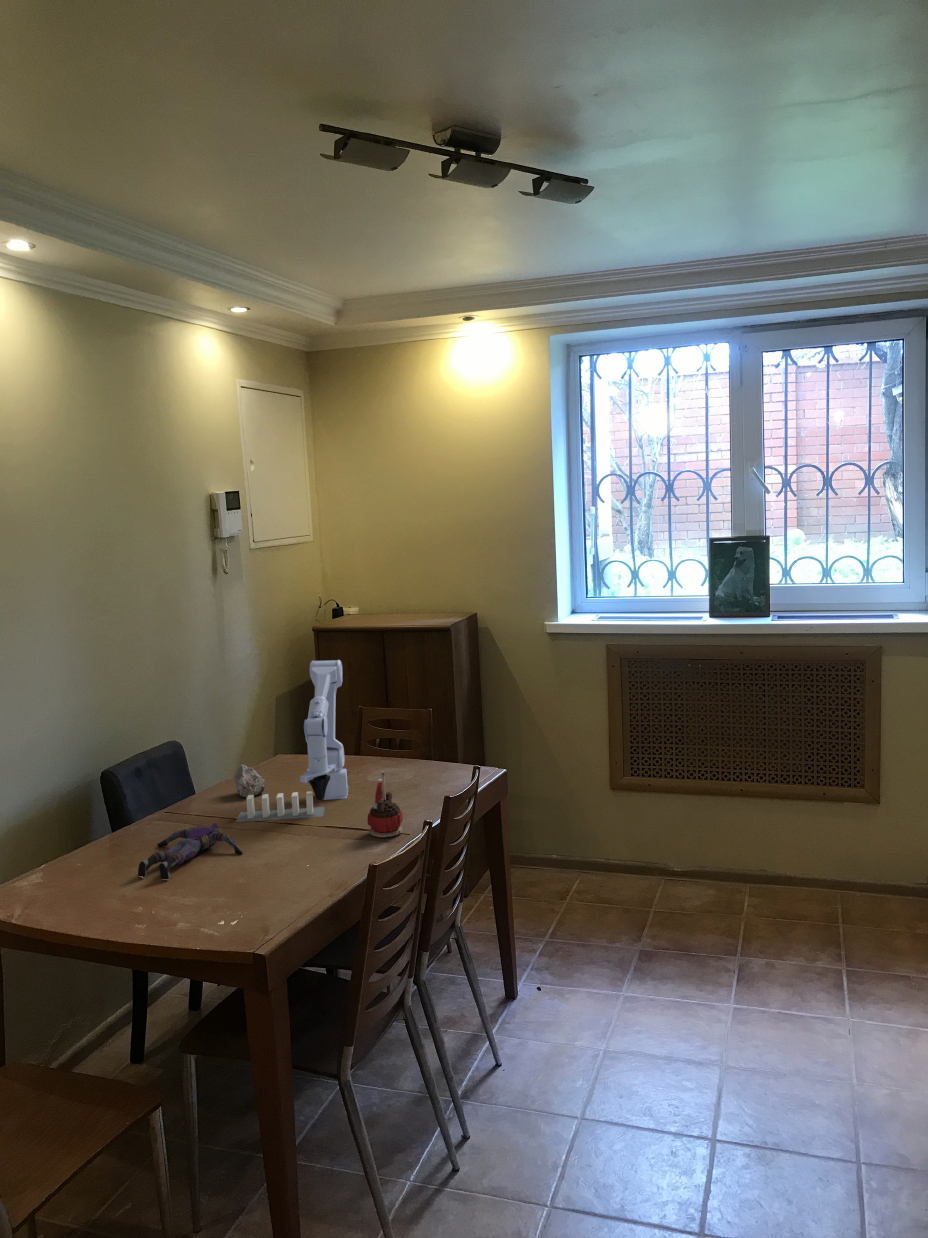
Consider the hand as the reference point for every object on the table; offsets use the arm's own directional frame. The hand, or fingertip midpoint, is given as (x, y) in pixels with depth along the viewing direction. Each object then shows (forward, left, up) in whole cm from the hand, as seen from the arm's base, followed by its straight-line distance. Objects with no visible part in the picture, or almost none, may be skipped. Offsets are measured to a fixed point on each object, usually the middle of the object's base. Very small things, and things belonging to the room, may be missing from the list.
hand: (320, 799), depth 294 cm
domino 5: (+3, 0, -4) cm, 5 cm away
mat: (+12, 0, -4) cm, 13 cm away
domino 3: (+12, 0, -4) cm, 13 cm away
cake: (-20, +22, -4) cm, 30 cm away
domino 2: (+17, 0, -4) cm, 17 cm away
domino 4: (+8, 0, -4) cm, 8 cm away
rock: (+25, -22, -4) cm, 34 cm away
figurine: (+34, +32, -5) cm, 47 cm away
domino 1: (+21, 0, -4) cm, 21 cm away
